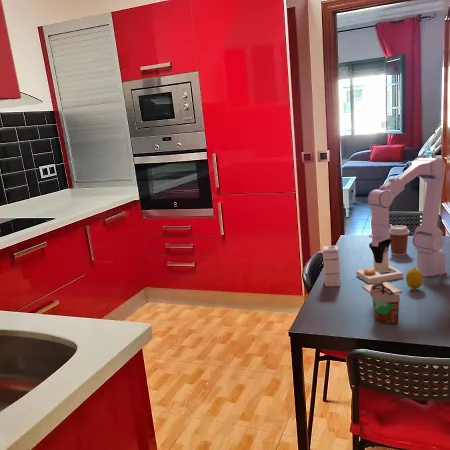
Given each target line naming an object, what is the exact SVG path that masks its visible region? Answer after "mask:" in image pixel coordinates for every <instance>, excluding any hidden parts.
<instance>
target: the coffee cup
mask: <svg viewBox="0 0 450 450" xmlns="http://www.w3.org/2000/svg"><path fill="white" fill-rule="evenodd" d="M410 232H411V231H410V229H408V226H406V225H403V224H402V225H399V224H395V225H391V226H389V235H390V238H392V241H391V243H390V245H389V246H390V254H391V255H393V256H405V254H406V255H407V252H408V239H409V234H410Z"/></svg>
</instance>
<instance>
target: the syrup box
mask: <svg viewBox="0 0 450 450" xmlns="http://www.w3.org/2000/svg"><path fill="white" fill-rule="evenodd" d="M322 258H323V261H322V262H323V272H324V273H323V275H324V286H325V287H340V286H341V270H340V267H341V266H340V257H339V246H338V245H335V244H334V245H324V246H322Z"/></svg>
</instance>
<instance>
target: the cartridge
mask: <svg viewBox="0 0 450 450" xmlns="http://www.w3.org/2000/svg"><path fill="white" fill-rule="evenodd" d="M389 251H390V247H389V248H388V247H385V250H384V254H383V261H382V263H376V262H375V259H374V258H373V268H374V270H375V271H378V272H384V273H386V272H385V271H388V270H389V266H390V264H389Z"/></svg>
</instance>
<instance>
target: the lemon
mask: <svg viewBox="0 0 450 450" xmlns="http://www.w3.org/2000/svg"><path fill="white" fill-rule="evenodd" d="M423 277H424V276H422V273H421V272H420V271H419V270H418V269H417V267H413V268H411V269H409V270H408V271H407V273H406V276H405V282H406V284H407V286H408V287H409V288H412V289H413V290H414V291H415V290H417V289H419V288H420V287H422V285H423V283H424V278H423Z"/></svg>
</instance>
